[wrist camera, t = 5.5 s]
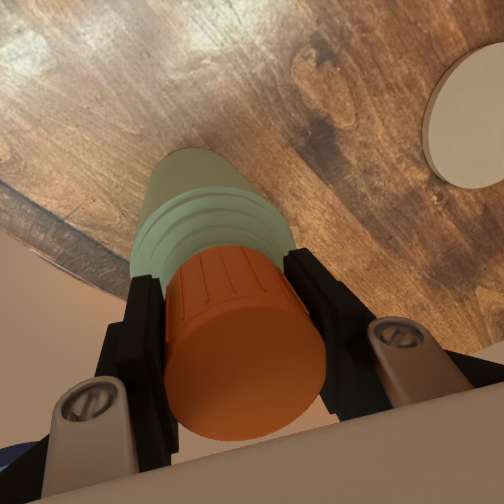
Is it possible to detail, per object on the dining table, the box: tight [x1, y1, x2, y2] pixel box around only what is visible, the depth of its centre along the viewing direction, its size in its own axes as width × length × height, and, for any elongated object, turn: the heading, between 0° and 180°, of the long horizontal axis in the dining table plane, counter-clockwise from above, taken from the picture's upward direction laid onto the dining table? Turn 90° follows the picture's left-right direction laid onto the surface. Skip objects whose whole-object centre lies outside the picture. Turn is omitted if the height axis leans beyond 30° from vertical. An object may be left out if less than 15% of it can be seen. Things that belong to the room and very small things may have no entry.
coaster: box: [422, 42, 504, 189], centre depth 27 cm, size 10×10×1 cm
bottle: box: [130, 148, 296, 300], centre depth 17 cm, size 6×6×18 cm
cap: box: [163, 245, 326, 441], centre depth 10 cm, size 4×4×4 cm
